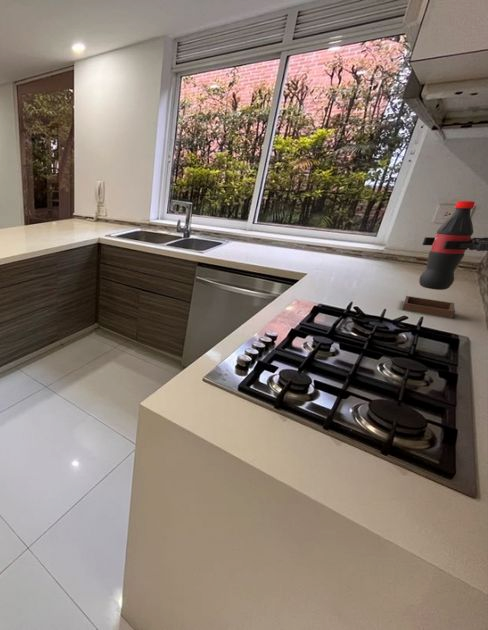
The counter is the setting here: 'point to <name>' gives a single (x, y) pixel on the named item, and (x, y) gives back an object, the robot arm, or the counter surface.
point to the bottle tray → (429, 307)
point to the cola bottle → (447, 260)
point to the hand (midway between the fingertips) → (434, 243)
